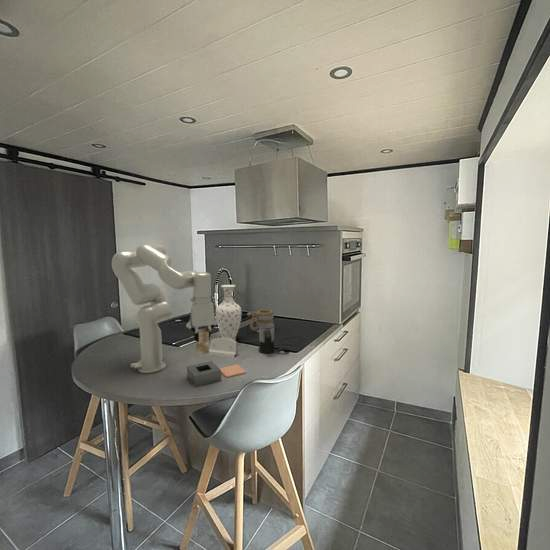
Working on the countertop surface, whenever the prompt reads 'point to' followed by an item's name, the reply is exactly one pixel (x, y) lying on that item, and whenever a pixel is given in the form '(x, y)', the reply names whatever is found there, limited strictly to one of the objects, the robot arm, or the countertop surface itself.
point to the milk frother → (267, 339)
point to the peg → (203, 342)
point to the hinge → (223, 347)
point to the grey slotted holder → (203, 373)
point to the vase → (228, 314)
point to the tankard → (261, 318)
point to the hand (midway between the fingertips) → (202, 339)
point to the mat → (232, 371)
